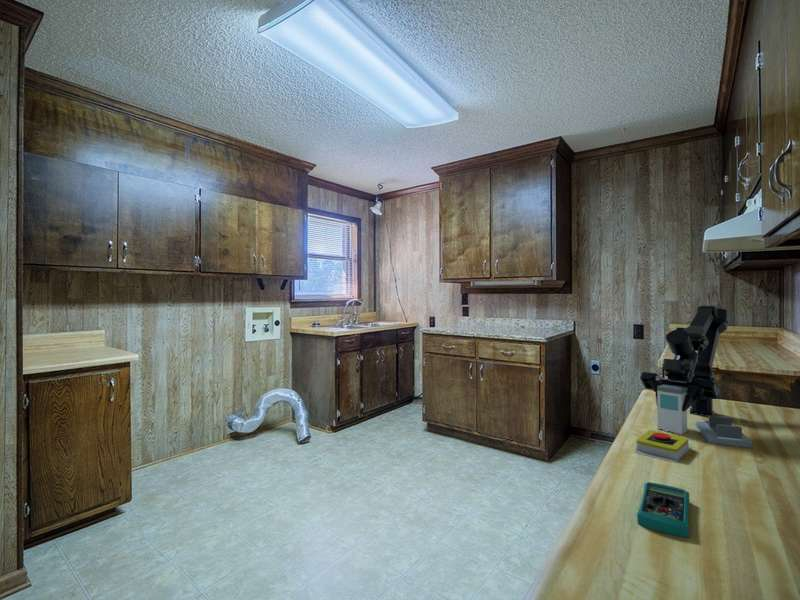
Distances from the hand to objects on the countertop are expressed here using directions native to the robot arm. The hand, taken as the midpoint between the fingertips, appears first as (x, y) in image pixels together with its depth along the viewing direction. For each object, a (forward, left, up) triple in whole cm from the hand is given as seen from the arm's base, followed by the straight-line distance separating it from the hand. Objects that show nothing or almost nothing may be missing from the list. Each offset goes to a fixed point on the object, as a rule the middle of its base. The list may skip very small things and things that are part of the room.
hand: (670, 408), depth 117 cm
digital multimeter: (+52, +3, -7) cm, 53 cm away
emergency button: (+17, 0, -7) cm, 19 cm away
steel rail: (-3, +12, -5) cm, 13 cm away
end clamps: (-1, +12, -5) cm, 13 cm away
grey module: (-1, 0, -7) cm, 7 cm away
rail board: (-3, +12, -7) cm, 14 cm away
